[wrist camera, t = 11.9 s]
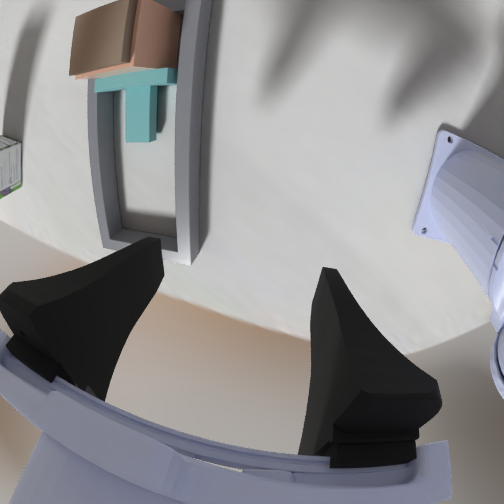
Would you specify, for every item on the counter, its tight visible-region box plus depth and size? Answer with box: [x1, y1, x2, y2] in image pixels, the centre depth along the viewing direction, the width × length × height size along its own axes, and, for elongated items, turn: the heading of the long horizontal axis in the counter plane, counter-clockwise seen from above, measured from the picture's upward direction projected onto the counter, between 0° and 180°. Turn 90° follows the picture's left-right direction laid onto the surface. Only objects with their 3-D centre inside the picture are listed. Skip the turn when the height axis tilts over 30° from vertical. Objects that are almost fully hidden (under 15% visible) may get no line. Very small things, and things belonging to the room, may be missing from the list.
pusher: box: [94, 68, 178, 142], centre depth 15 cm, size 6×5×2 cm
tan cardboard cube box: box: [69, 0, 182, 80], centre depth 11 cm, size 4×4×6 cm
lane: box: [88, 0, 213, 266], centre depth 16 cm, size 8×20×2 cm, turn 175°
